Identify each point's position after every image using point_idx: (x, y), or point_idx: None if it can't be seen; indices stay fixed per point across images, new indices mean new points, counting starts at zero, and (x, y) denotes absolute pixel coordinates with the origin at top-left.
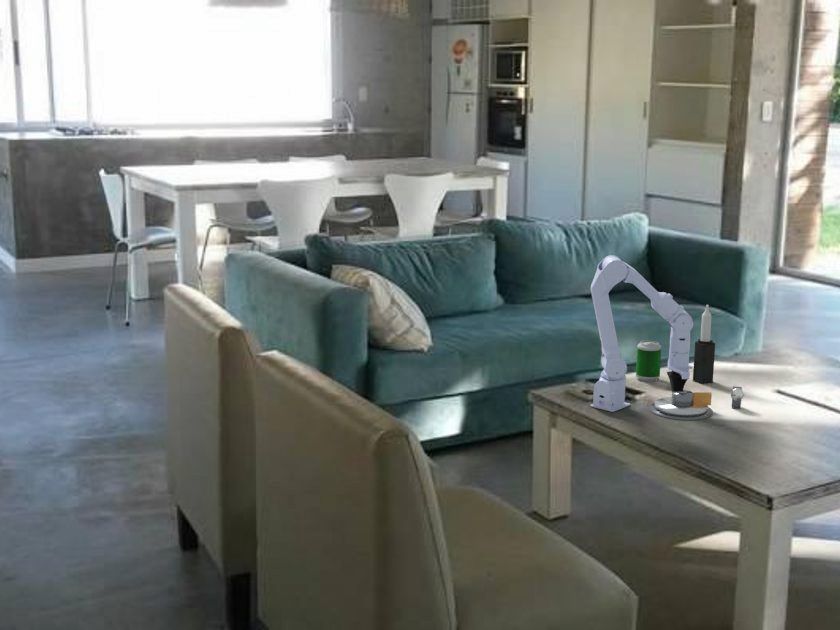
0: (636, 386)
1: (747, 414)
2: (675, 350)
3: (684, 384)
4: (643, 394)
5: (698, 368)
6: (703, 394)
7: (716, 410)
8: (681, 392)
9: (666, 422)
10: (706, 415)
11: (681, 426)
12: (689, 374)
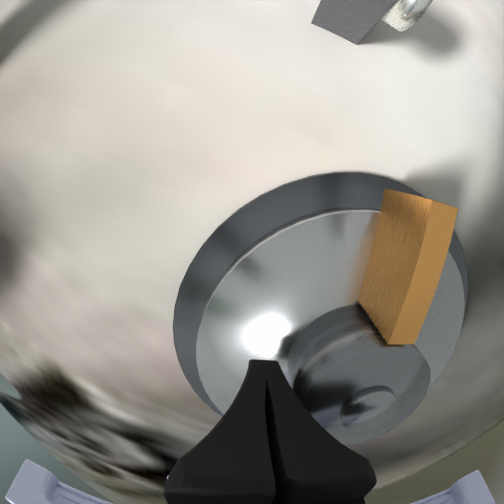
0: (8, 352)
1: (446, 44)
2: None
3: (315, 421)
4: (82, 382)
5: None
6: (436, 275)
7: (382, 147)
8: (384, 421)
9: (427, 408)
10: (452, 256)
11: (472, 374)
12: (490, 494)
